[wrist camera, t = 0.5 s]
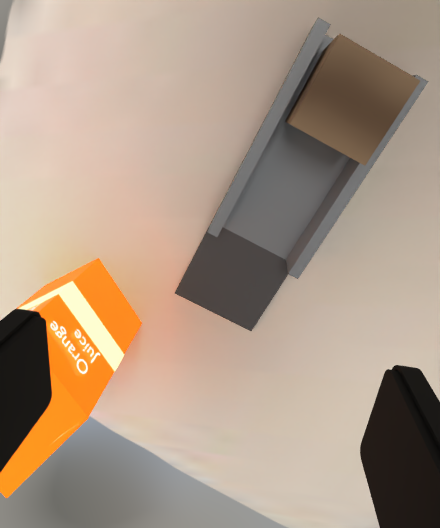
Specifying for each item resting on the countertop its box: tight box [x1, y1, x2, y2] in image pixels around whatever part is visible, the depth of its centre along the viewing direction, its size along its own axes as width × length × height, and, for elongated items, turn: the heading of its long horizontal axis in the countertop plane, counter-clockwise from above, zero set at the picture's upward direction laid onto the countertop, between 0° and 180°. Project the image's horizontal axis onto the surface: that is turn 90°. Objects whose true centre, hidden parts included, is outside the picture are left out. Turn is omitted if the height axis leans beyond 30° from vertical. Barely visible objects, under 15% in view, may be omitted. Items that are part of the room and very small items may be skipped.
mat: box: [175, 224, 288, 331], centre depth 39 cm, size 9×9×1 cm
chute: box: [207, 17, 428, 279], centre depth 33 cm, size 18×9×4 cm, turn 153°
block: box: [285, 34, 420, 166], centre depth 29 cm, size 6×6×7 cm
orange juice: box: [0, 258, 142, 498], centre depth 33 cm, size 8×9×20 cm
